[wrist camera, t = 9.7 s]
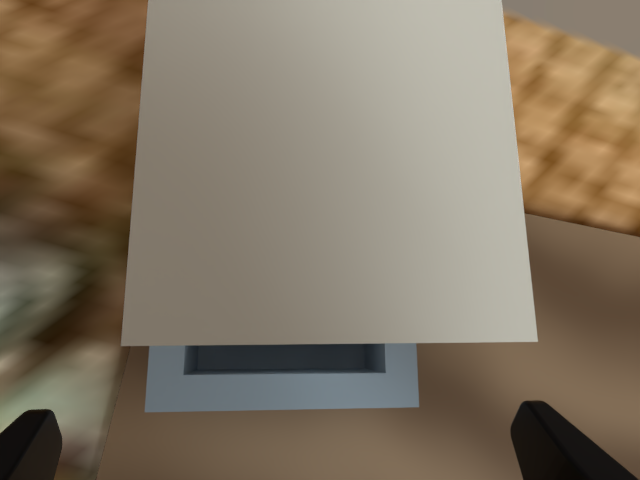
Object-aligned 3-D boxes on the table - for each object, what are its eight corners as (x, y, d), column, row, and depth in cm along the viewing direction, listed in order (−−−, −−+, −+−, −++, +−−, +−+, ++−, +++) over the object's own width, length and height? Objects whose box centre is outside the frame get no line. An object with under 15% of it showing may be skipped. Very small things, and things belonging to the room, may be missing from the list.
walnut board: (673, 693, 17) (692, 709, 17) (66, 615, 16) (56, 629, 15) (671, 250, 21) (687, 247, 21) (187, 149, 20) (184, 142, 19)
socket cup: (388, 394, 18) (419, 406, 14) (169, 397, 17) (144, 412, 13) (381, 191, 19) (407, 158, 16) (182, 184, 18) (164, 147, 15)
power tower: (344, 343, 17) (537, 341, 5) (223, 344, 17) (120, 346, 5) (342, 222, 18) (500, -18, 6) (227, 219, 18) (152, -47, 6)
